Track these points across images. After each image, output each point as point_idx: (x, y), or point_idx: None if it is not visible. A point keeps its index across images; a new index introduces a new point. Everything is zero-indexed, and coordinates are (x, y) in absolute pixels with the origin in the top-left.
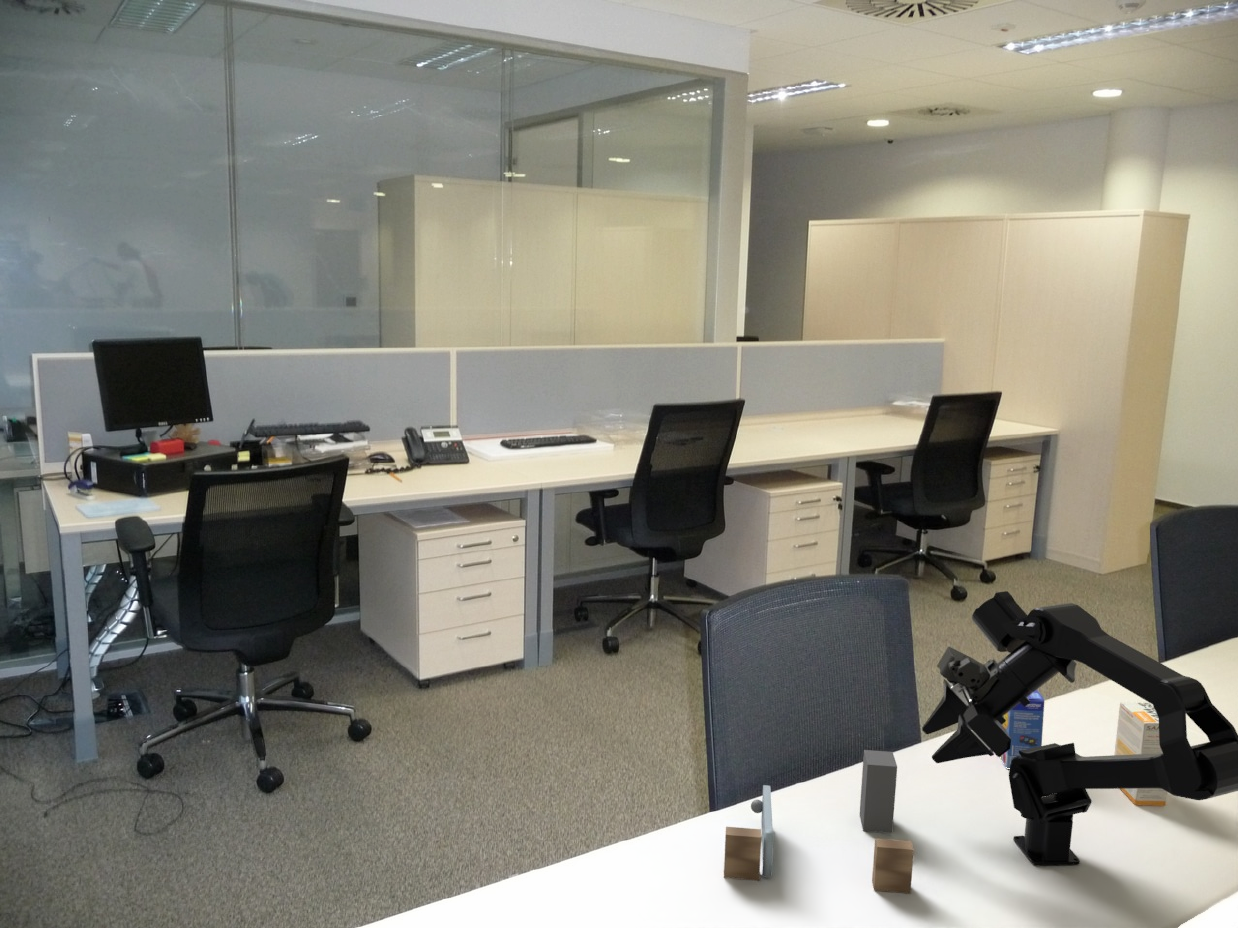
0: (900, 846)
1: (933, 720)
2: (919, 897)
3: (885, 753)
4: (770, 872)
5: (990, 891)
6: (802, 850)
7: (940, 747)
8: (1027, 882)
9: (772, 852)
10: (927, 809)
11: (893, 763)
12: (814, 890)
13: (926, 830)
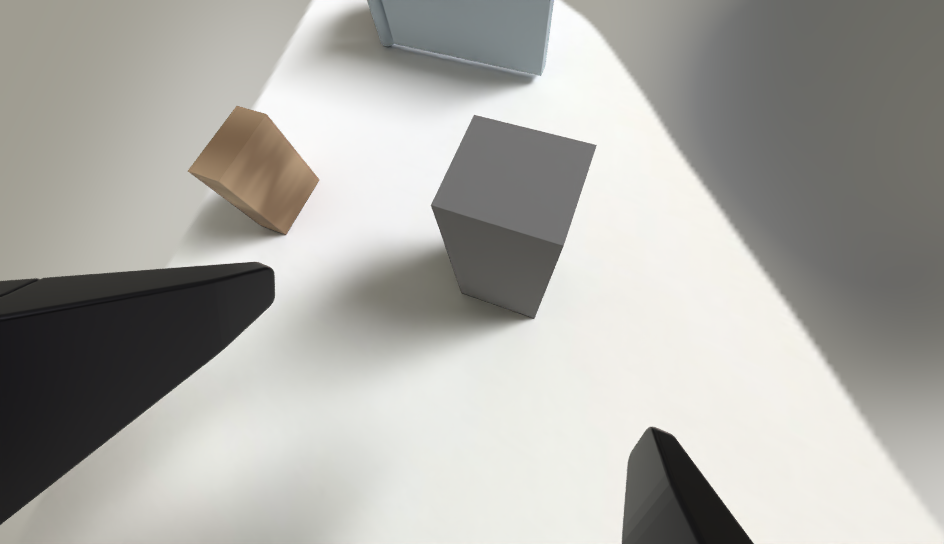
0: (214, 150)
1: (673, 539)
2: (245, 235)
3: (553, 211)
4: (379, 36)
5: (194, 386)
6: (445, 109)
7: (184, 280)
8: (175, 506)
9: (368, 1)
10: (554, 449)
11: (460, 203)
12: (332, 92)
13: (453, 382)
